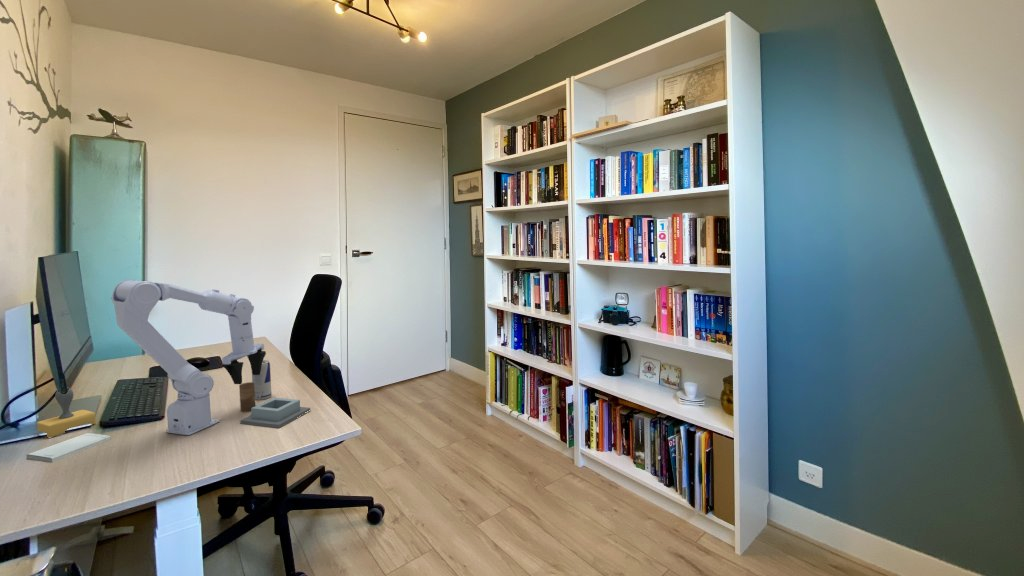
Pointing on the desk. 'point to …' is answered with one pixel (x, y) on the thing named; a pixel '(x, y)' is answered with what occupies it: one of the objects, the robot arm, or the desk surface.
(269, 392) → the energy drink
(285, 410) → the socket block
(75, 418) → the rubber stamp
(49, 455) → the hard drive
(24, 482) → the desk surface
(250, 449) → the desk surface
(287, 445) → the desk surface
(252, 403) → the walnut pin
